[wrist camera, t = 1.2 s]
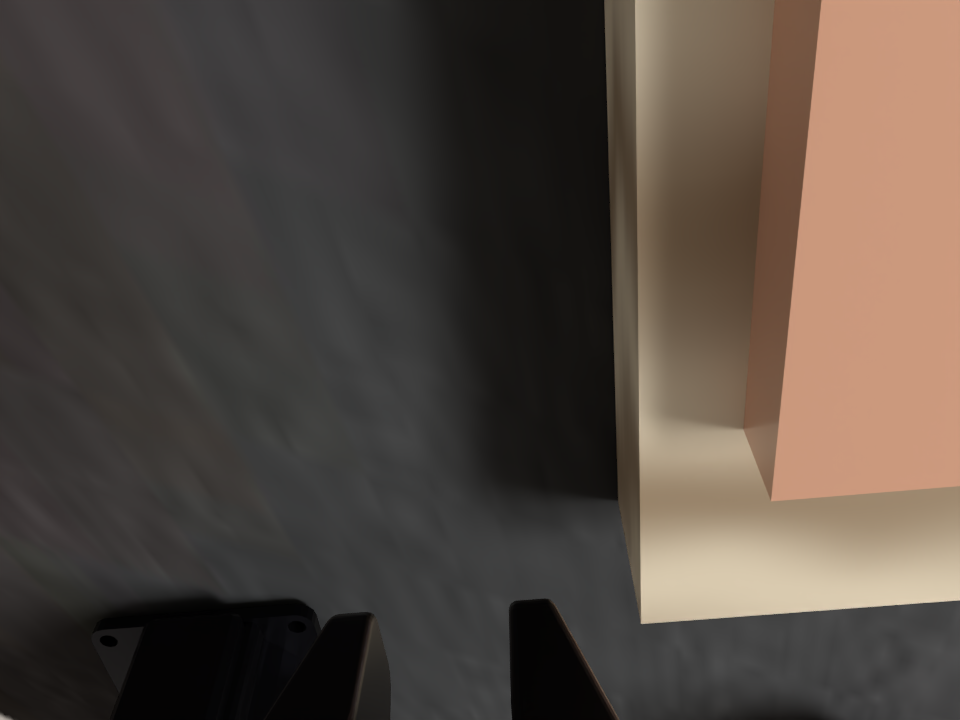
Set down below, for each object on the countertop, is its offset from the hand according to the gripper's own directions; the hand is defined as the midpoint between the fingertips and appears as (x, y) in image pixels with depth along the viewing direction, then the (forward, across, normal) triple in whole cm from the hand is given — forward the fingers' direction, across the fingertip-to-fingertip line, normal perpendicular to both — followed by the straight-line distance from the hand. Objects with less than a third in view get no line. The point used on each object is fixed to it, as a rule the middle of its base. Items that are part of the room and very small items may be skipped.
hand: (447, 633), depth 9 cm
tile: (+8, -8, 0) cm, 11 cm away
